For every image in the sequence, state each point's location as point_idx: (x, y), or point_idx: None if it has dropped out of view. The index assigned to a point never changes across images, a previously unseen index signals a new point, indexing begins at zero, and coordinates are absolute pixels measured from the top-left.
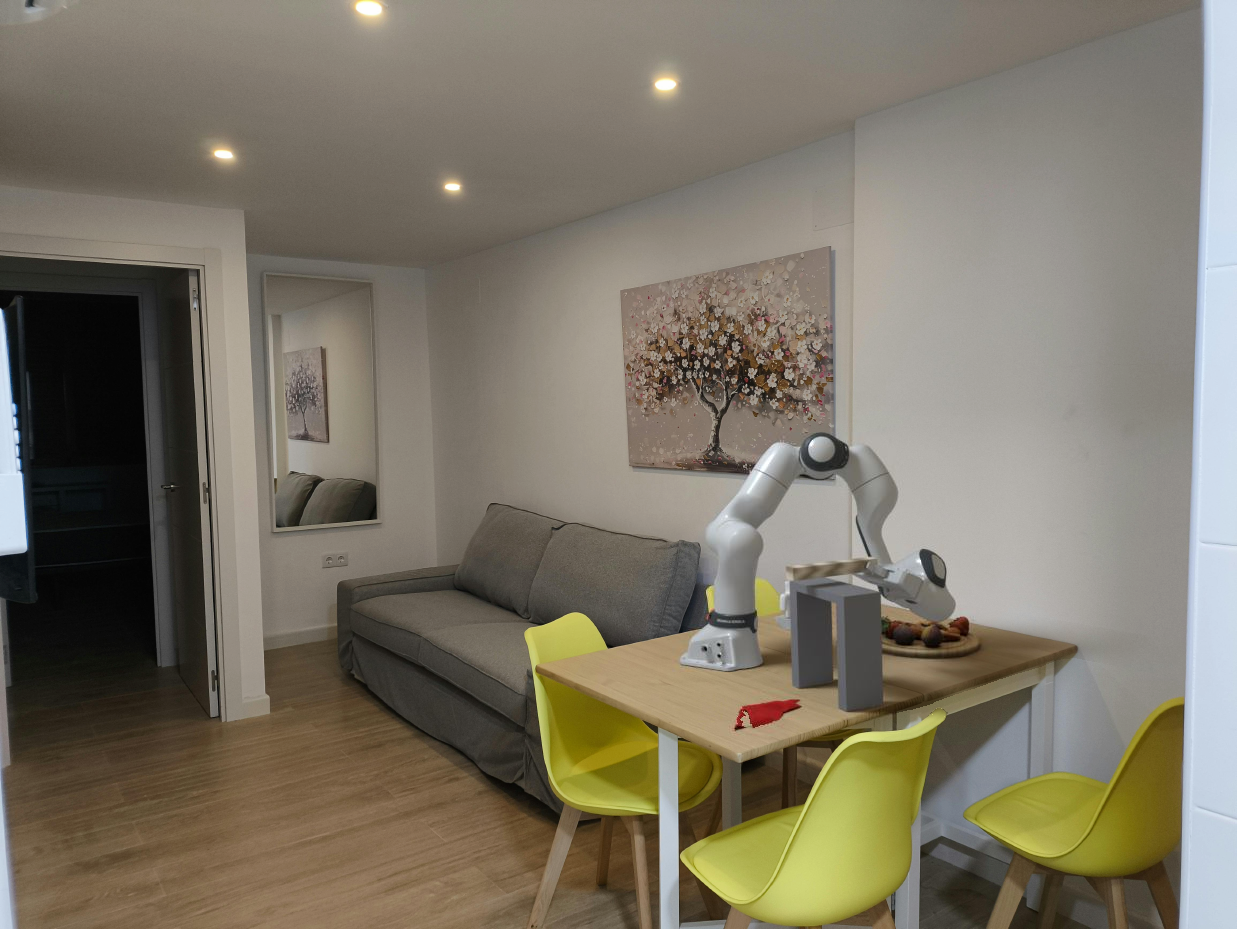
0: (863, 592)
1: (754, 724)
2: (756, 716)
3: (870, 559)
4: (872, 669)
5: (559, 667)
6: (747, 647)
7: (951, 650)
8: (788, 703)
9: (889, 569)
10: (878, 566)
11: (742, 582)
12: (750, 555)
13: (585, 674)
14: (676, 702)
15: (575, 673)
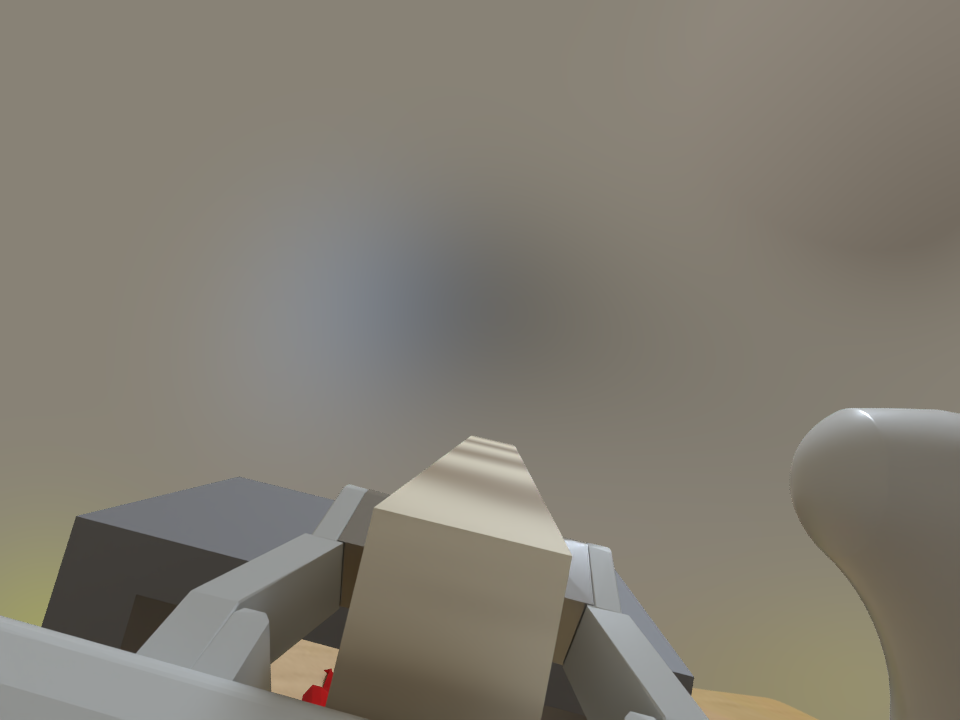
0: (186, 506)
1: (309, 691)
2: (324, 700)
3: (401, 487)
4: None
5: (792, 711)
6: None
7: None
8: None
9: (66, 644)
10: (267, 556)
11: (903, 680)
12: (806, 512)
13: (740, 712)
14: None
15: (748, 707)
